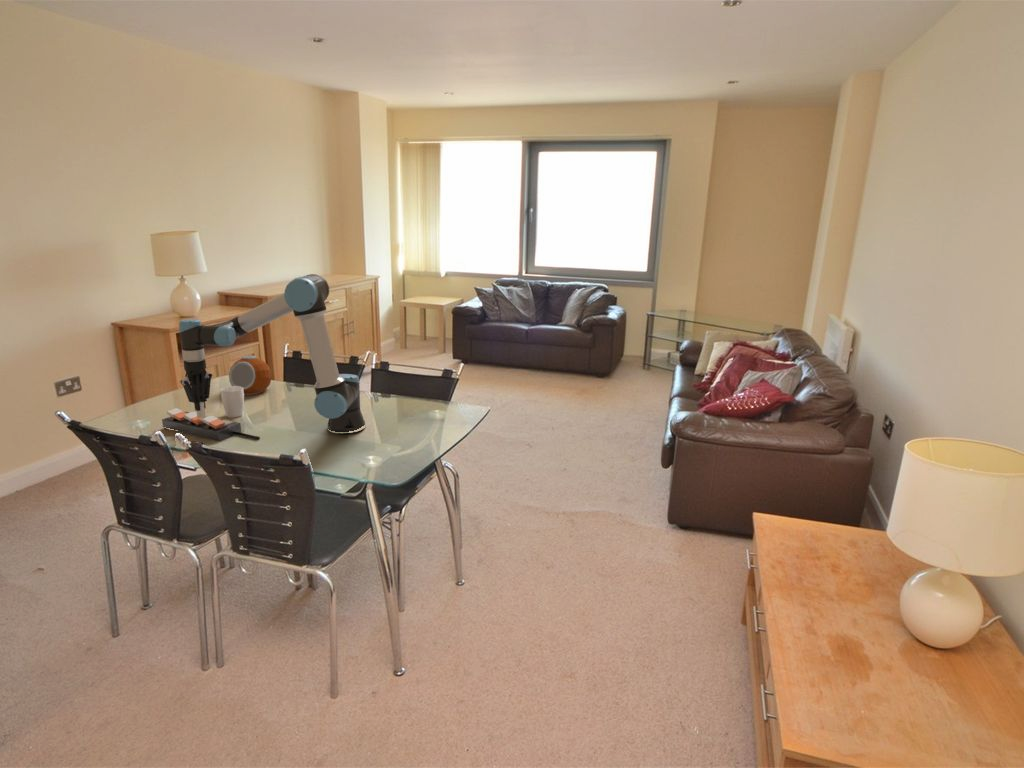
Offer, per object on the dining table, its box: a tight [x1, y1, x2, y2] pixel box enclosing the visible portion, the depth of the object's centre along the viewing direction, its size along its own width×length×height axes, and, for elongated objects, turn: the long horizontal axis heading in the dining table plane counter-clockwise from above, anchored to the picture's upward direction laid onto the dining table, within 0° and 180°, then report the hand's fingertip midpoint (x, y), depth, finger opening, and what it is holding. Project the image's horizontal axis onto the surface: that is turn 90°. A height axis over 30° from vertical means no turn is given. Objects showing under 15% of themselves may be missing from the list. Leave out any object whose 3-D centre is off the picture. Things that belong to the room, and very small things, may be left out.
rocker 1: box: [166, 407, 187, 421], centre depth 241 cm, size 7×4×1 cm, turn 68°
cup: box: [220, 385, 245, 419], centre depth 258 cm, size 9×9×12 cm
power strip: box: [161, 411, 261, 442], centre depth 239 cm, size 42×11×5 cm, turn 68°
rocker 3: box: [202, 415, 225, 429], centre depth 234 cm, size 7×4×1 cm, turn 68°
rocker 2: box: [184, 411, 204, 425], centre depth 237 cm, size 7×4×1 cm, turn 68°
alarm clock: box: [228, 355, 272, 395], centre depth 291 cm, size 19×18×17 cm
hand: (201, 417), depth 236 cm, fingers closed
